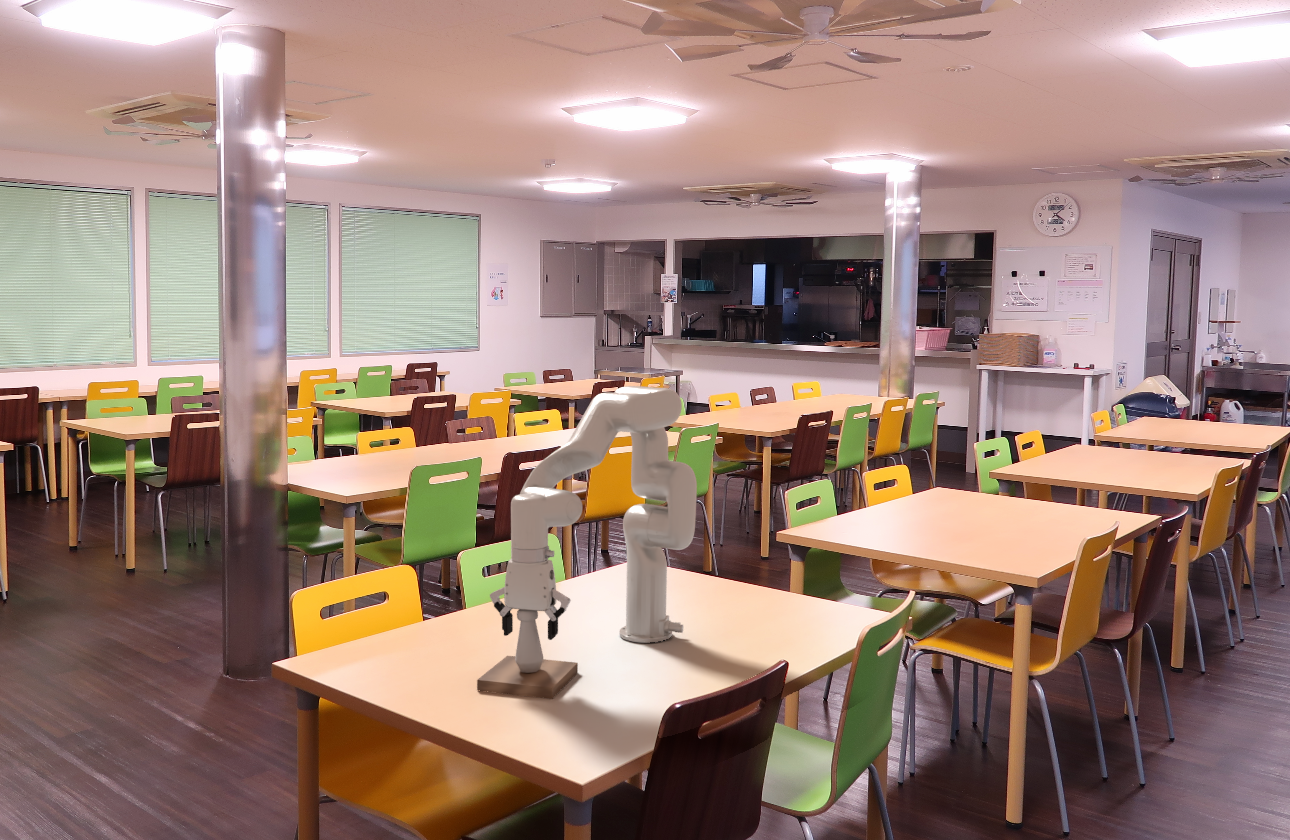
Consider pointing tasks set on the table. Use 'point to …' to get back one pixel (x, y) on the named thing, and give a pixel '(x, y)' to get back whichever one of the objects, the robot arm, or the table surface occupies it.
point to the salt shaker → (528, 643)
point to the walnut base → (528, 678)
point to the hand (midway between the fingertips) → (530, 635)
